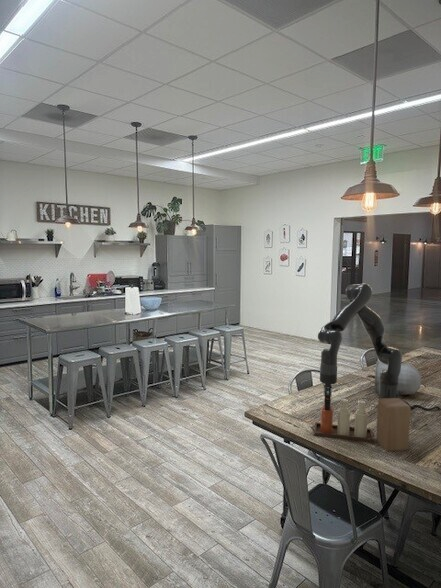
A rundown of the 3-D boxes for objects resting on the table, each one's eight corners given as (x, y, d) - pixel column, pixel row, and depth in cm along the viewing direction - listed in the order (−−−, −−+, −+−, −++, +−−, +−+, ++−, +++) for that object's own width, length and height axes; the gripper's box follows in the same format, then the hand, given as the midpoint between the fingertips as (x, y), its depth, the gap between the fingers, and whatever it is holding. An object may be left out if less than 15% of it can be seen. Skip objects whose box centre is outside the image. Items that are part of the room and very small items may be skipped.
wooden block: (375, 440, 176) (377, 397, 174) (396, 439, 177) (399, 397, 175) (386, 452, 166) (388, 406, 164) (408, 451, 167) (411, 406, 165)
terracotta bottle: (332, 429, 186) (333, 396, 184) (332, 435, 181) (333, 401, 179) (320, 428, 187) (321, 395, 185) (320, 433, 182) (321, 399, 180)
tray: (371, 433, 184) (371, 429, 183) (373, 444, 173) (374, 439, 173) (314, 426, 190) (315, 422, 190) (314, 436, 180) (314, 432, 180)
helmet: (363, 394, 234) (420, 402, 220) (363, 364, 232) (421, 369, 218) (368, 384, 250) (421, 391, 236) (368, 356, 249) (422, 361, 234)
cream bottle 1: (349, 431, 184) (350, 398, 182) (349, 437, 178) (351, 402, 177) (336, 430, 185) (338, 397, 183) (337, 435, 180) (338, 401, 178)
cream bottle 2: (366, 433, 182) (367, 400, 180) (367, 439, 177) (368, 404, 175) (353, 432, 183) (355, 398, 181) (354, 437, 178) (356, 403, 176)
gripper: (337, 377, 173) (335, 414, 175) (336, 368, 186) (335, 402, 188) (319, 376, 174) (318, 413, 177) (320, 366, 188) (319, 401, 190)
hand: (327, 407), depth 182 cm, fingers open, 4 cm apart
